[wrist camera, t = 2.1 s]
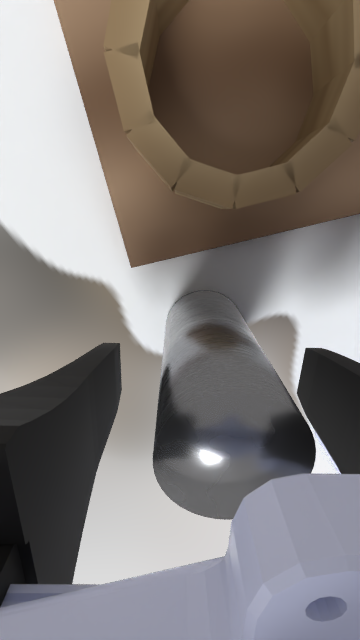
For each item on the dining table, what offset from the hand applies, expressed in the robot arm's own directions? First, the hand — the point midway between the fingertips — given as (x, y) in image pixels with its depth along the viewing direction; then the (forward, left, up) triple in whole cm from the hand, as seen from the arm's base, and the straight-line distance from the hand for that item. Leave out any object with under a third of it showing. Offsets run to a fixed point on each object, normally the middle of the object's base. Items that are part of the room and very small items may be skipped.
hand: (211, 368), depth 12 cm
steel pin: (0, 0, -5) cm, 5 cm away
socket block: (+8, -6, -4) cm, 11 cm away
